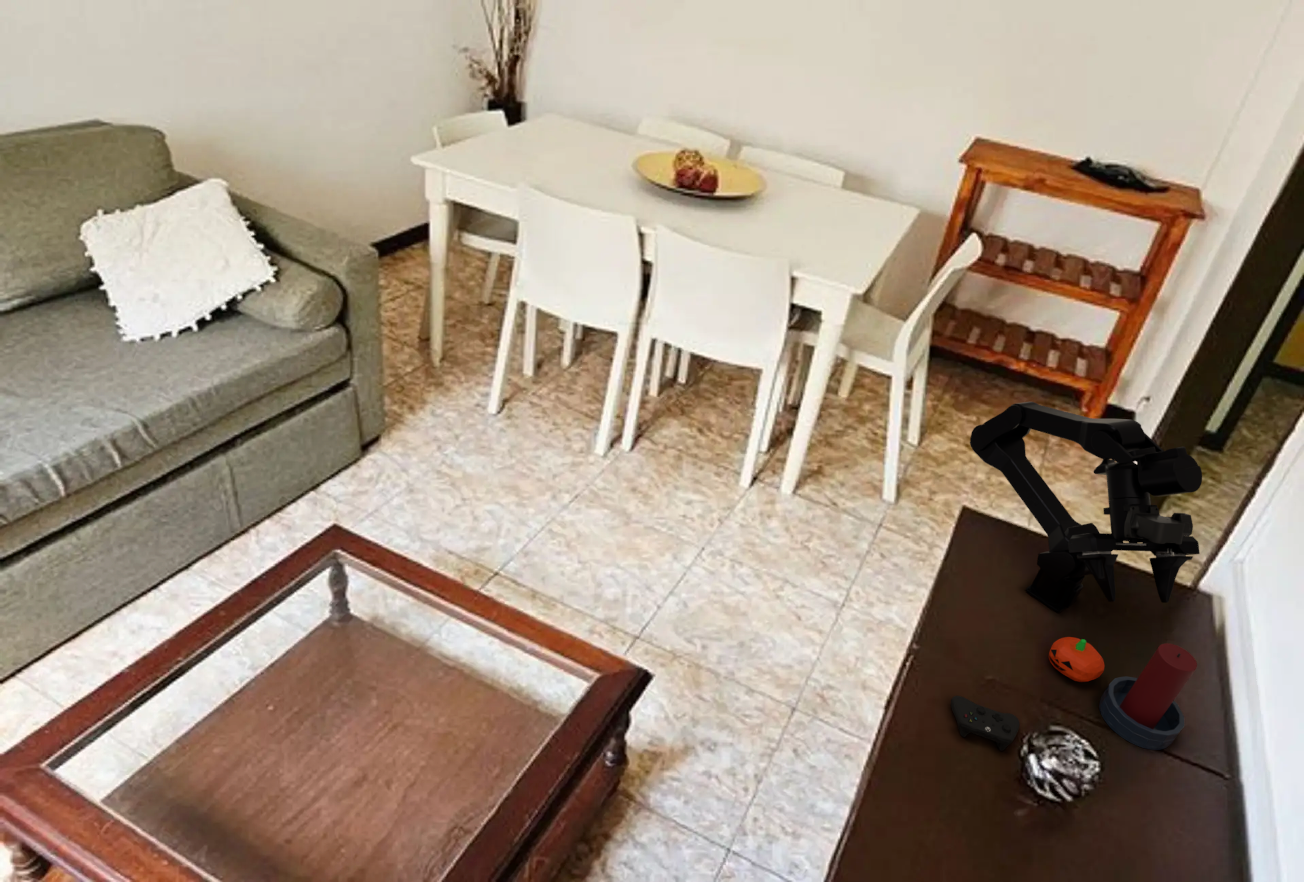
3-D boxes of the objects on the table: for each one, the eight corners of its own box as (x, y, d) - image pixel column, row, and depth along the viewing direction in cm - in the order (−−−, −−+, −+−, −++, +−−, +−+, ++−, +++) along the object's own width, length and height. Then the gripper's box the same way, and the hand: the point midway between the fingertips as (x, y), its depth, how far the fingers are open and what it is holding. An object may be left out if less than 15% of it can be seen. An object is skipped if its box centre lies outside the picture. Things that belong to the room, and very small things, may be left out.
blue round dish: (1086, 712, 131) (1096, 696, 129) (1117, 681, 137) (1127, 666, 135) (1155, 762, 125) (1166, 747, 123) (1184, 728, 131) (1195, 712, 129)
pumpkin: (1092, 697, 133) (1110, 669, 130) (1039, 671, 136) (1056, 643, 133) (1099, 669, 139) (1116, 641, 135) (1048, 645, 142) (1064, 617, 138)
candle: (1117, 720, 129) (1160, 657, 122) (1119, 697, 133) (1160, 634, 126) (1154, 736, 128) (1200, 674, 120) (1155, 712, 132) (1199, 650, 124)
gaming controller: (1017, 716, 127) (1029, 719, 121) (1008, 753, 126) (1020, 757, 120) (951, 693, 129) (959, 695, 123) (941, 729, 128) (949, 732, 122)
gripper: (1112, 491, 126) (1121, 600, 123) (1223, 496, 129) (1235, 602, 126) (1062, 500, 137) (1070, 601, 134) (1166, 504, 140) (1176, 603, 137)
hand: (1138, 602), depth 133 cm, fingers open, 9 cm apart
